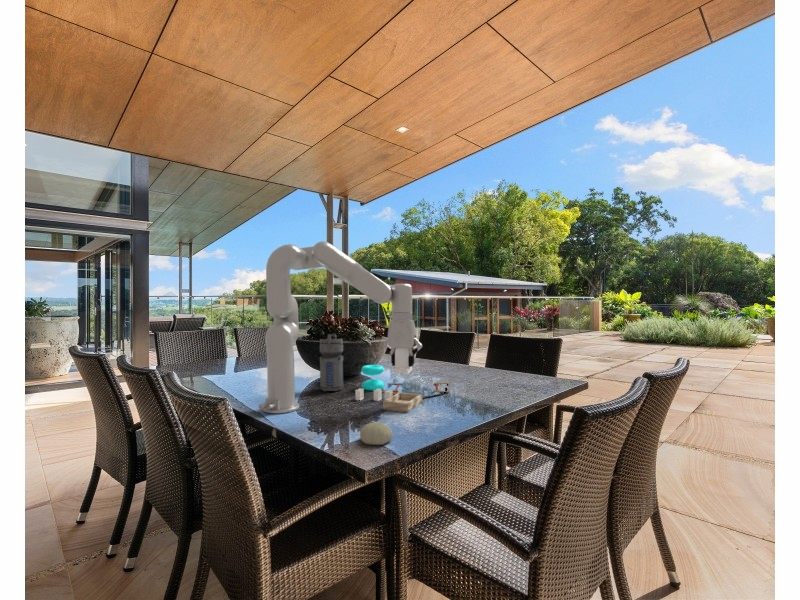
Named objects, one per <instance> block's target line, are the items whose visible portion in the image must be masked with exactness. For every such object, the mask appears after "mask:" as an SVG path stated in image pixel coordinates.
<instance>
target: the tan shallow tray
mask: <svg viewBox="0 0 800 600" xmlns="http://www.w3.org/2000/svg"><path fill="white" fill-rule="evenodd" d="M422 396H423V394H422V393H421V394H419V393H408V392H397V394H396V395H394V394H393V396H392V397H390V398H388V399H387V400H385V399H384V400H383V401H382V410H383V411H390V412H398V413H399V412H401V413H409V412H411V411H413V410H414V408H417V407H418V406H419V405H421V404H422V403H423V397H422Z"/></svg>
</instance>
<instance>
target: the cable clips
mask: <svg viewBox="0 0 800 600" xmlns="http://www.w3.org/2000/svg"><path fill="white" fill-rule="evenodd" d="M382 389H383V388H382ZM382 389H376V390H373V401H374V402H375V401H376V402H379V401H381V400H382V399H383V398H382V391H383V390H382ZM386 390H387V389H386ZM393 390H394V389H388V390H387V391H385V392H384V401H385V400H387V399H388V398H390V397H392V396H394V393H393ZM354 391H355V393H354V394H355V401H359V400H360V401H362V400H364V391H365V389H363V388H358V389H355V390H354Z"/></svg>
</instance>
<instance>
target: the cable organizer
mask: <svg viewBox="0 0 800 600" xmlns="http://www.w3.org/2000/svg"><path fill="white" fill-rule="evenodd" d="M409 356H410V354H409V351H408V348H396V350H395V366H394V367H393V373H392V374H393V375H399V374H402V375H408V374H410V373H411V372H412V371H413V366H411V367H409V361H408V357H409Z"/></svg>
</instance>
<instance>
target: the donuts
mask: <svg viewBox="0 0 800 600" xmlns="http://www.w3.org/2000/svg"><path fill="white" fill-rule="evenodd" d="M384 371H385V368H384V366H383V365H381V364H367V365H363V366H362V367H361V372H362V373H363V375H366V376H378V375H381V374H383V372H384ZM384 386H385V383H384V381H382V380H380V379H375V378H374V379H373V378H372V379H366V380H364V381H362V383H361V389H364V391H365V390H366V391H374V390H376V389H383V388H384Z"/></svg>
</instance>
